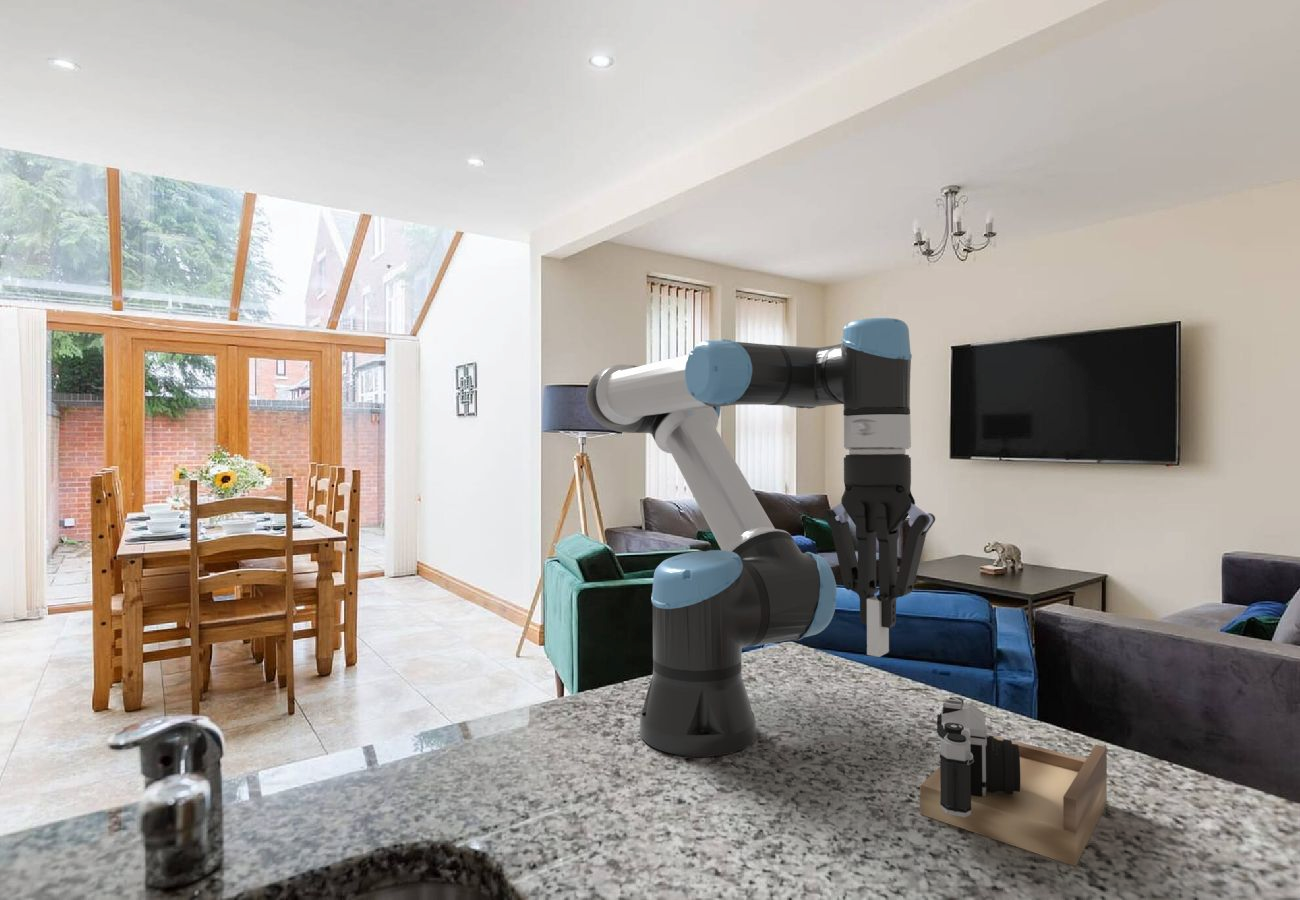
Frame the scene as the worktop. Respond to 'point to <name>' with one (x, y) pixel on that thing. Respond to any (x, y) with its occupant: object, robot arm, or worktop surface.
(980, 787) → the camera
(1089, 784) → the wooden corner tray
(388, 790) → the worktop surface
